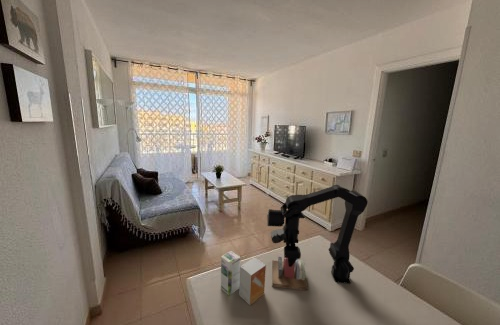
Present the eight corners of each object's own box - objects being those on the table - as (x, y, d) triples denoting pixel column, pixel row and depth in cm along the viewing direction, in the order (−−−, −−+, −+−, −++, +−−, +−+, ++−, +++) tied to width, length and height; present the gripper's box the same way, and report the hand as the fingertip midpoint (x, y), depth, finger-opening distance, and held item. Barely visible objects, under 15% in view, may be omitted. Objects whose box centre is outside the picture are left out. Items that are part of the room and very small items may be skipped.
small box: (250, 306, 74) (251, 275, 72) (238, 295, 79) (239, 266, 76) (264, 293, 80) (266, 264, 77) (253, 284, 84) (254, 256, 82)
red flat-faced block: (292, 268, 92) (293, 250, 90) (293, 278, 86) (295, 259, 84) (283, 267, 92) (284, 249, 91) (284, 277, 87) (285, 258, 85)
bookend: (281, 265, 94) (281, 257, 93) (281, 278, 86) (282, 269, 85) (277, 265, 94) (278, 256, 93) (278, 278, 86) (279, 269, 85)
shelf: (301, 266, 96) (302, 263, 95) (306, 290, 82) (307, 287, 82) (272, 263, 97) (272, 260, 97) (272, 286, 84) (272, 283, 83)
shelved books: (302, 268, 92) (302, 259, 91) (304, 280, 85) (305, 270, 84) (294, 267, 92) (295, 258, 92) (296, 279, 86) (297, 270, 85)
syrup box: (220, 288, 82) (220, 256, 79) (231, 280, 86) (231, 249, 83) (229, 296, 78) (229, 263, 75) (240, 287, 82) (241, 256, 79)
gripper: (272, 214, 95) (270, 244, 98) (272, 237, 76) (270, 272, 80) (296, 216, 93) (294, 246, 97) (302, 239, 75) (299, 275, 79)
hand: (289, 259), depth 88 cm, fingers open, 9 cm apart
